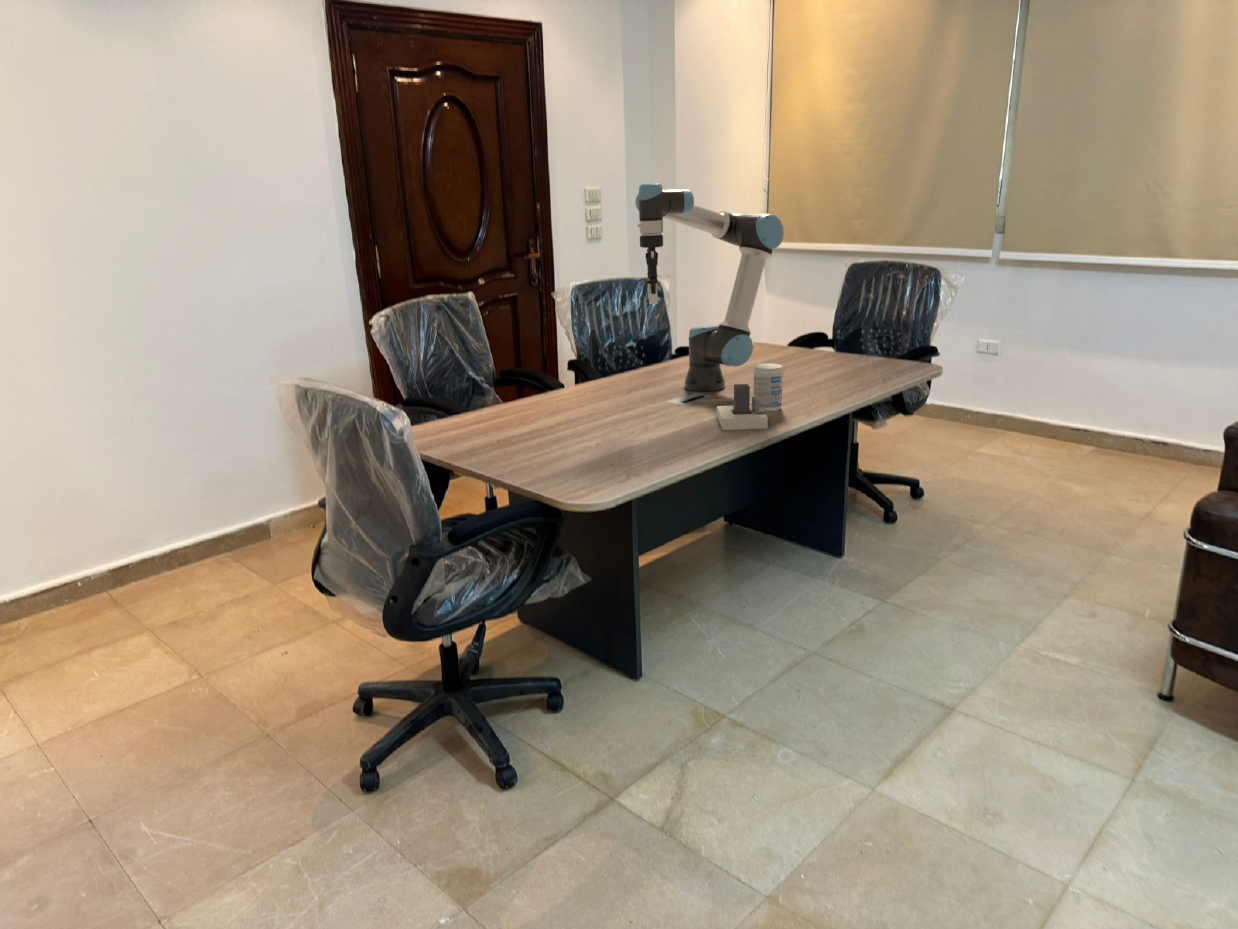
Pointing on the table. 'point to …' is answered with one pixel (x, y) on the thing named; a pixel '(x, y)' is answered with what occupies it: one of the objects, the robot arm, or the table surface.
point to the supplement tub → (768, 384)
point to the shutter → (762, 407)
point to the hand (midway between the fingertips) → (652, 301)
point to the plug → (741, 398)
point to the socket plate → (740, 419)
